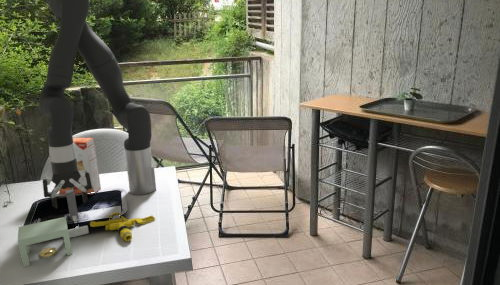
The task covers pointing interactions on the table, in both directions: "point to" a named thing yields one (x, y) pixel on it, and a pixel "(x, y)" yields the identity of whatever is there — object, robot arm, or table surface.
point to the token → (47, 252)
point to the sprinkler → (121, 224)
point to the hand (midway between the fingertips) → (70, 204)
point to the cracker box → (86, 164)
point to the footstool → (42, 235)
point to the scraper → (74, 215)
